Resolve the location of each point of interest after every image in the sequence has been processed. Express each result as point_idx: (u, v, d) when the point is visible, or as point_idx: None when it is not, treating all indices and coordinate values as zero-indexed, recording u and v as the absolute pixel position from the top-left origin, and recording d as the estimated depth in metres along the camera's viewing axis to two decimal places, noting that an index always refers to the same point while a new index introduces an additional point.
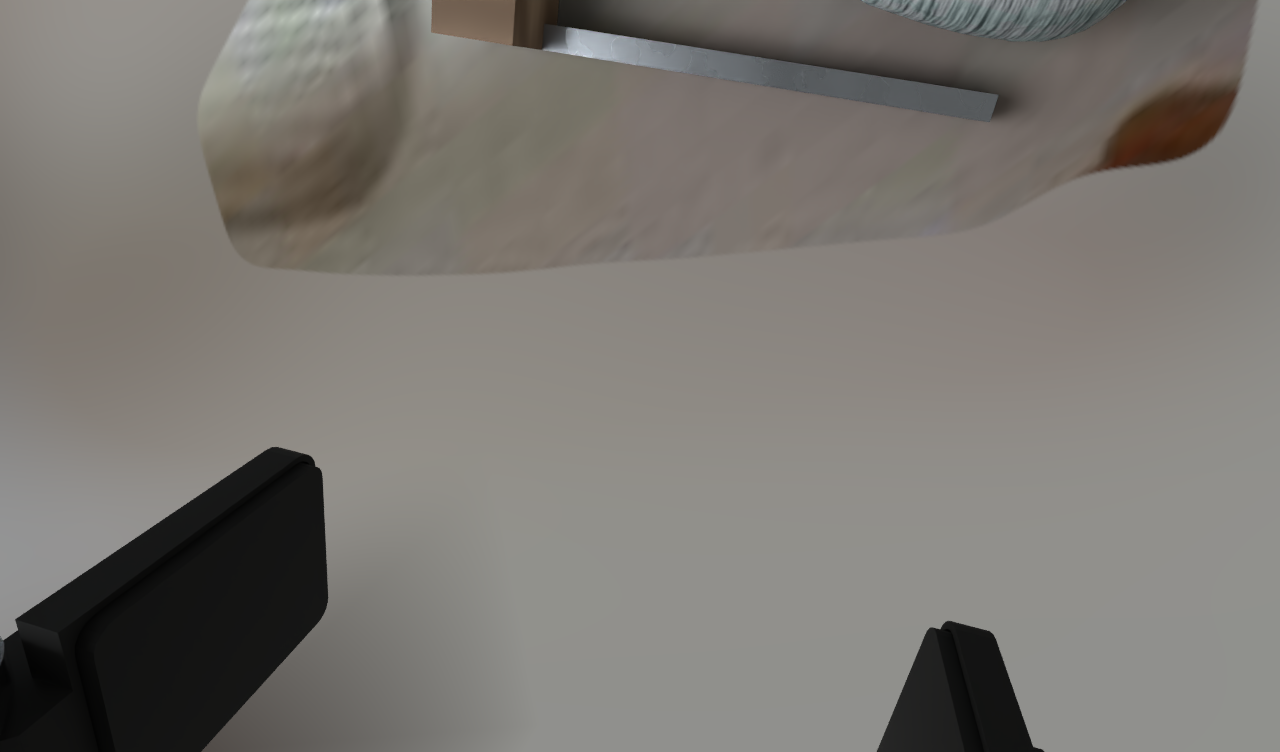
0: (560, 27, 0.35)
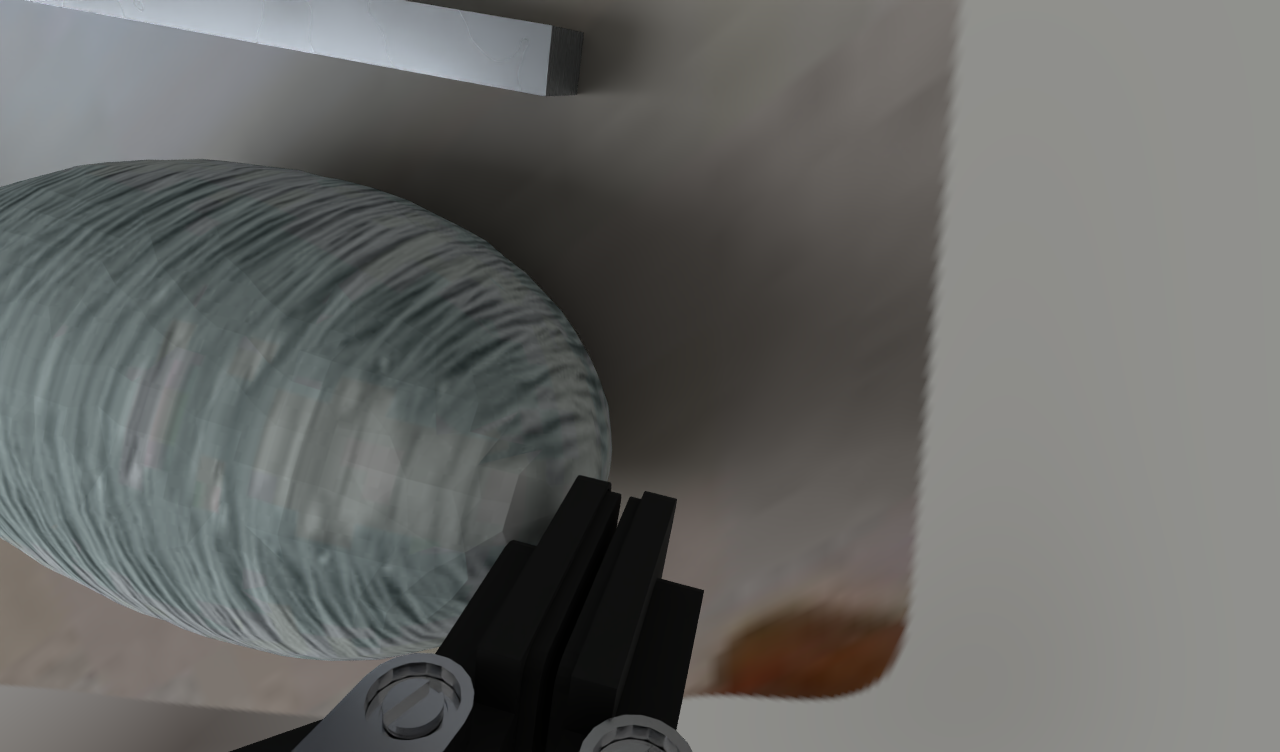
0: None
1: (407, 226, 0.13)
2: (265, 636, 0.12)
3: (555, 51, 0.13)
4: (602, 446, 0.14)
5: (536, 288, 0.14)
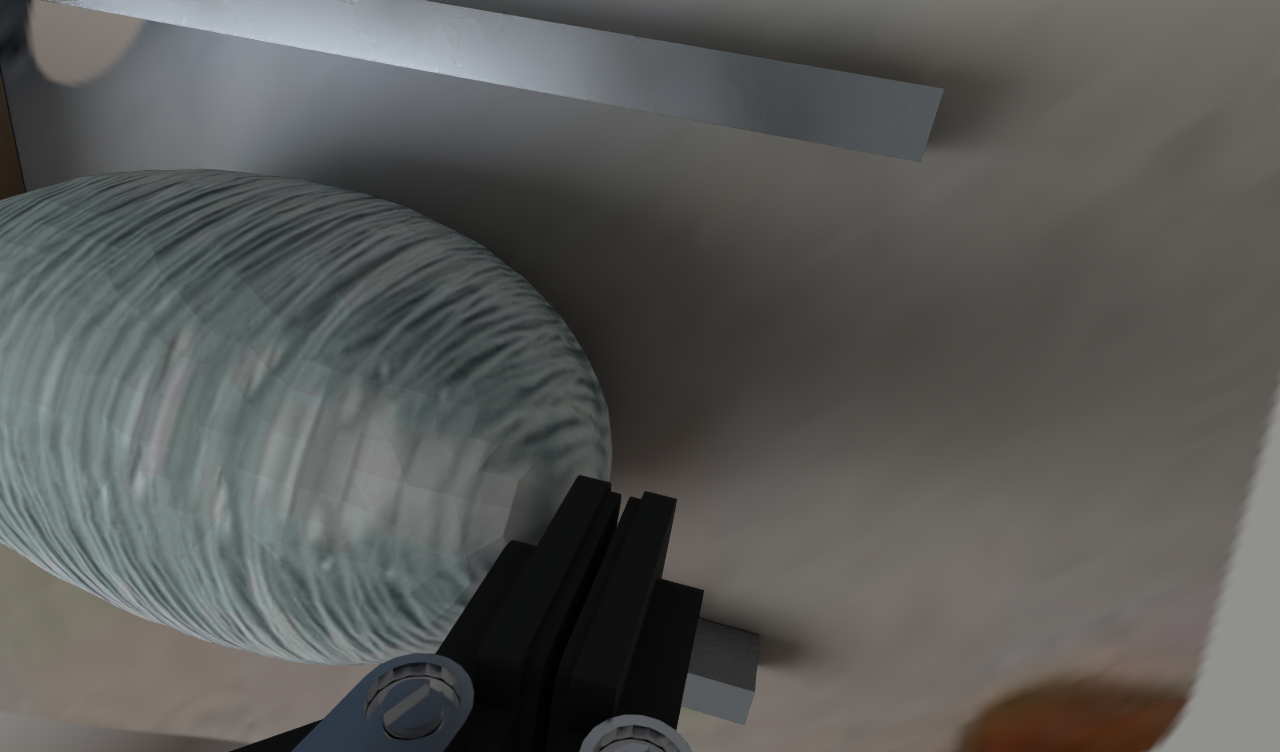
0: None
1: (407, 234, 0.13)
2: (269, 642, 0.12)
3: (933, 113, 0.12)
4: (602, 450, 0.14)
5: (535, 294, 0.14)
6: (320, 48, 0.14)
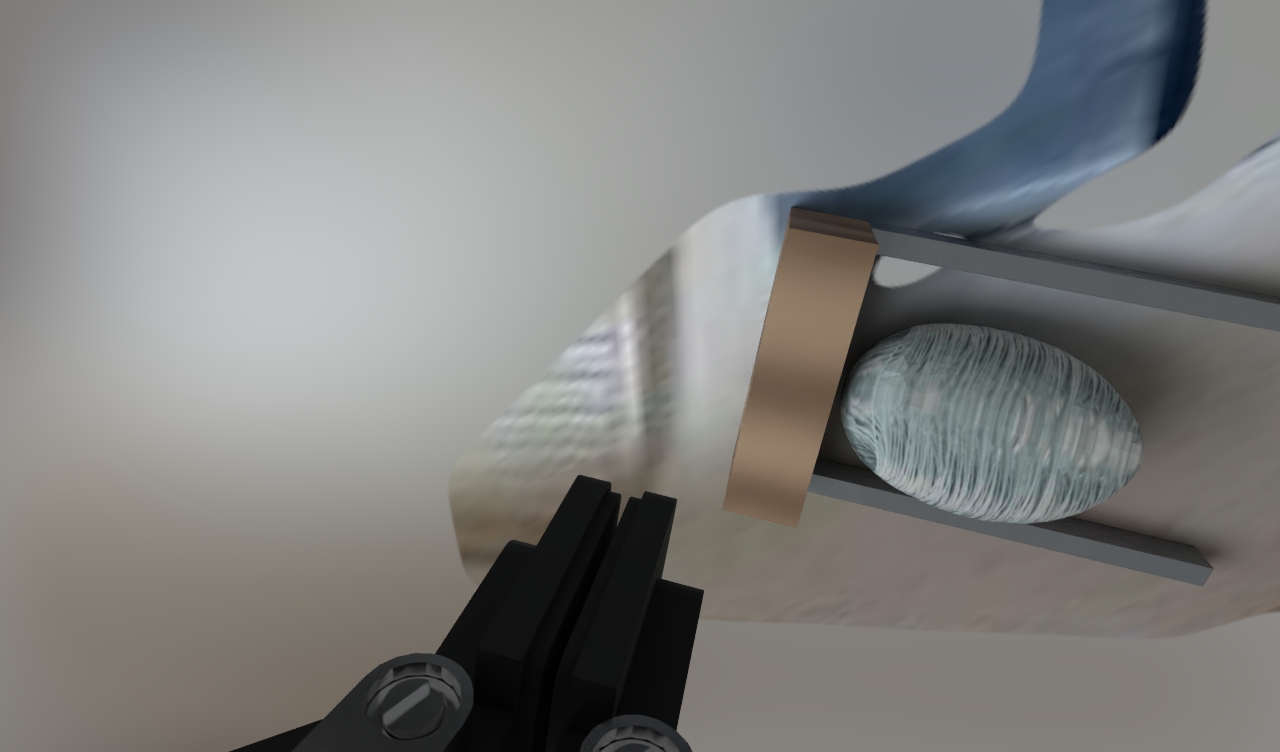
0: (816, 475, 0.40)
1: (1062, 354, 0.33)
2: (1029, 508, 0.32)
3: None
4: None
5: None
6: (1083, 292, 0.34)
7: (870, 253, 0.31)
